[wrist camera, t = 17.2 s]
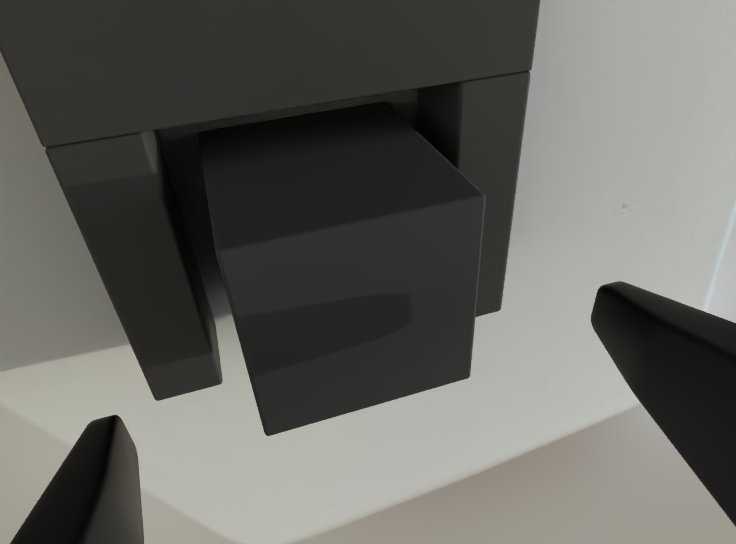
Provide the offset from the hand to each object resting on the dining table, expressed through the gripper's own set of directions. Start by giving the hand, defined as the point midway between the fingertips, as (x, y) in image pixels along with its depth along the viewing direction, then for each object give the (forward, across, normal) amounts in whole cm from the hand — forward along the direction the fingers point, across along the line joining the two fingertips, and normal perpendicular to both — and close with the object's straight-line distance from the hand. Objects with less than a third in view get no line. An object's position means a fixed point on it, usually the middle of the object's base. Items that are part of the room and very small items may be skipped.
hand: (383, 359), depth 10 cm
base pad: (+6, 0, -17) cm, 18 cm away
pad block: (+6, 0, 0) cm, 7 cm away
